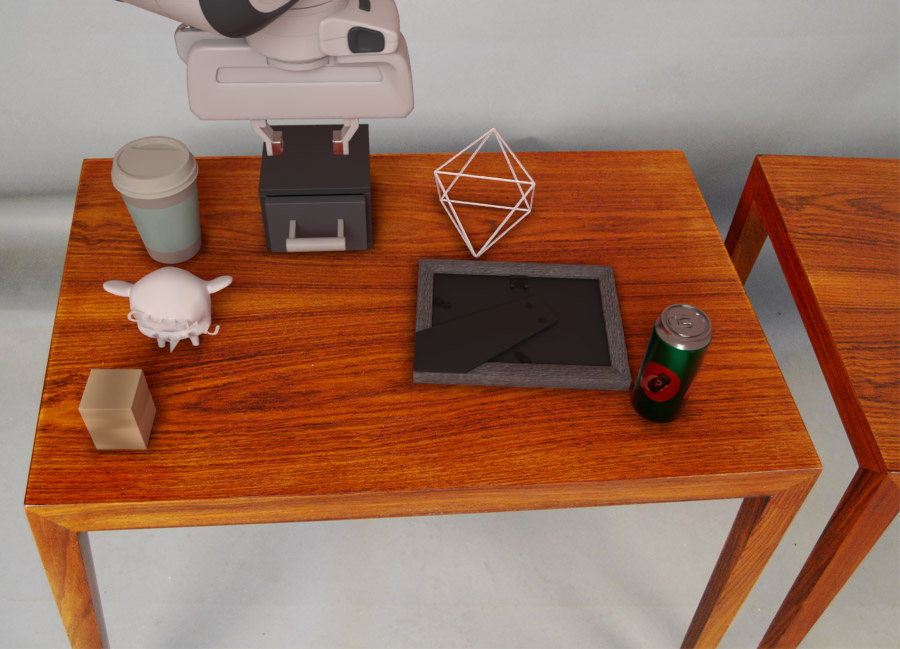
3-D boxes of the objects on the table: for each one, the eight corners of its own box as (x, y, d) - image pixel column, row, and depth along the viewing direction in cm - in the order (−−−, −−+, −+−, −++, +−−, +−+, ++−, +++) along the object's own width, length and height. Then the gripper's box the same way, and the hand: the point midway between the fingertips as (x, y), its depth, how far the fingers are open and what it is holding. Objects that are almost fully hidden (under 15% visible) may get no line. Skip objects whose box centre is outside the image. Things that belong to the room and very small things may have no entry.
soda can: (687, 427, 81) (722, 343, 72) (634, 426, 81) (662, 342, 72) (676, 385, 84) (709, 300, 75) (625, 384, 84) (652, 299, 75)
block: (96, 449, 76) (77, 409, 72) (108, 409, 79) (91, 368, 75) (146, 449, 77) (131, 409, 72) (156, 410, 80) (142, 368, 75)
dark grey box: (372, 248, 96) (370, 187, 90) (267, 251, 95) (258, 189, 89) (370, 183, 104) (368, 123, 97) (273, 185, 103) (265, 125, 96)
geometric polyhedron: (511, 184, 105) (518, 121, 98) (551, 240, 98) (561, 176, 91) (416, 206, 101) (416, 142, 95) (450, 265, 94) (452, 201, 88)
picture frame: (413, 383, 83) (628, 390, 84) (413, 369, 82) (632, 377, 82) (419, 268, 94) (609, 276, 94) (419, 255, 92) (613, 263, 93)
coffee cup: (230, 239, 96) (212, 151, 87) (175, 283, 91) (150, 194, 82) (174, 211, 99) (152, 123, 90) (117, 252, 94) (88, 163, 85)
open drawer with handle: (368, 277, 91) (366, 228, 86) (269, 280, 91) (261, 231, 86) (365, 190, 101) (363, 142, 96) (276, 191, 100) (270, 143, 96)
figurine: (128, 323, 89) (105, 372, 80) (114, 248, 85) (88, 292, 76) (246, 317, 90) (235, 366, 82) (237, 244, 86) (225, 286, 78)
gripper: (164, 36, 69) (194, 173, 80) (416, 35, 71) (414, 170, 81) (175, -2, 74) (202, 133, 84) (412, -1, 75) (411, 131, 86)
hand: (308, 151), depth 83 cm, fingers open, 5 cm apart
